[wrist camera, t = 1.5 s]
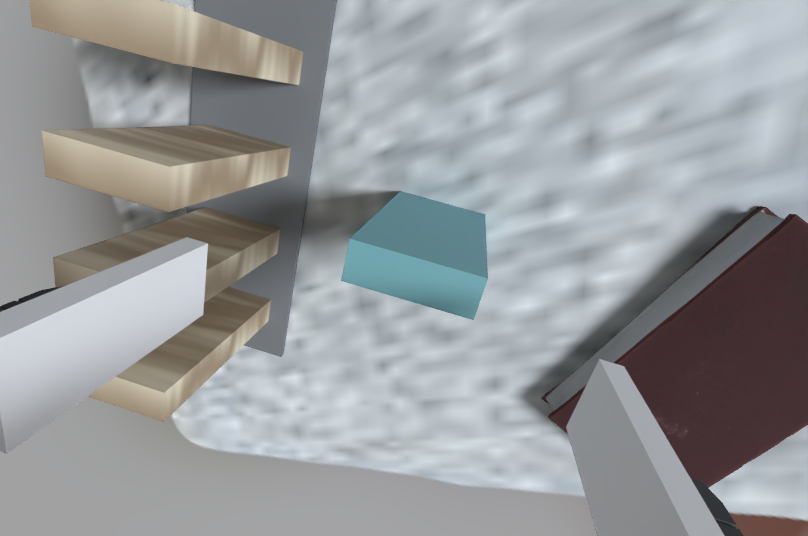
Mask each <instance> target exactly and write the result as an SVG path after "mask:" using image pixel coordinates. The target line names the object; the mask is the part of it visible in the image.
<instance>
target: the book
mask: <svg viewBox="0 0 808 536" xmlns="http://www.w3.org/2000/svg"><path fill="white" fill-rule="evenodd" d="M599 359H601V360H604V361H608V362H611V363H615V364H618V365H621V366H624V367H625V369H626V370H627V372H628V374H629V376H630V377H631V379H632V381H633V382H634V384H635V386H636V387H637V389H638V391H639V392H640V394H641V396H642V397H643V399H644V401H645V403H646V404H647V406H648V408H649V409H650V411H651V413H652V414H653V416H654V418H655V419H656V421H657V423H658V424H659V426H660V428H661V429H662V431H663V433H664V435H665V436H666V438H667V440H668V441H669V443H670V445H671V446H672V448H673V450H674V451H675V453H676V455H677V456H678V458H679V460H680V462H681V463H682V465H683V467H684V468H685V470H686V472H687V473H688V475H689V477H690V478H692V479H695V480H698V481H701V482H703V483H704V484H705V486H706V487H707V488H709V487H710V486H712V485H713V484H715V483H717V482H718V481H720V480H721V479H723V478H724V477H726V476H728V475H729V474H731V473H733V472H734V471H736V470H737V469H739V468H741V467H742V466H743V465H744V464H746V463H748V462H749V461H751V460H753V459H755V458H757V457H758V456H760V455H761V454H763V453H764V452H766V451H768V450H769V449H771V448H772V447H774V446H775V445H777V444H779V443H780V442H781V441H783V440H784V439H785V438H787V437H789V436H791V435H793V434H794V433H796V432H797V431H799V430H800V429H802V428H803V427H805V426H806V425H808V223H806V222H805V221H804V220H803V219H801V218H800V217H799V216H798V215H796V214H789V215H788V216H787V217H786V218H785V219H782V218H779V217H778V216H777V215H775V214H774V213H773V212H771V211H770V210H769V209H768V208H766V207H762V206H760V207H759V208H757V209H756V210H755V211H754V212H752V213H751V214H750V215H749V216H747V217H746V218H745V219H744V220H743V221H741V222H740V223H739V224H738V225H737V226H736V227H734V228H733V229H732V230H731V231H730V232H729V233H728V234H727V235H726V236H725V237H723V238H722V239H721V240H720V241H719V242H718V243H717V244H716V245H714V246H713V247H712V248H711V249H710V250H709V251H708V252H706V253H705V254H704V255H703V256H702V257H701V258H700V259H698V260H697V261H696V262H695V263H694V264H693V266H692V267H690V268H689V269H688V270H687V271H686V272H685V273H684V274H683V275H682V276H681V277H679V278H678V279H677V280H676V281H675V282H674V283H673V284H672V285H671V286H670V287H669V288H668V289H667V290H666V291H664V292H663V293H662V294H661V295H660V296H659V297H658V298H657V299H656V300H655V301H653V302H652V303H651V304H650V305H649V306H648V307H647V308H646V309H645V310H643V311H642V312H641V313H640V314H639V315H638V316H637V317H636V318H635V319H633V320H632V321H631V322H630V323H629V324H628V325H627V326H626V327H624V328H623V329H622V330H621V331H620V332H619V333H618V334H617V335H616V336H615V337H614V338H613V339H611V340H610V341H609V342H608V343H607V344H606V345H605V346H603V347H602V348H601V349H600V350H599V351H598V352H597V353H596V354H594V355H593V356H592V357H591V358H590V359H589V360H588V361H586V362H585V363H584V364H583V365H582V366H581V367H580V368H578V369H577V370H576V371H575V372H574V373H572V374H571V375H570V376H569V377H567V378H566V379H565V380H564V381H562V382H561V383H560V384H559V385H557V386H556V387H555V388H553V389H552V390H551V391H549V392H548V393H546V394H545V395H544V396H543V397H542V399H543V400H544V401H545V402H547V403H549V405H550V407H551V409H552V413H551V414H550V415H549V416H548V417H549V418H550V419H551V420H552V421H553V422H554V423H556V424H557V425H558V426H559V427H560V428H562V429H563V430H564V431H565V432H566V433H568V432H567V429H566V426H567V424H568V422H569V420H570V418H571V416H572V414H573V412H574V410H575V408H576V406H577V404H578V401H579V399H580V397H581V395H582V393H583V391H584V389H585V387H586V385H587V383H588V381H589V379H590V377H591V375H592V373H593V371H594V369H595V367H596V365H597V363H598V361H599Z"/></svg>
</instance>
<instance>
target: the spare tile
mask: <svg viewBox="0 0 808 536" xmlns="http://www.w3.org/2000/svg"><path fill="white" fill-rule="evenodd" d="M487 279H488V273H487V250H486V227H485V214H481V213H477V212H474V211H470V210H467V209H463V208H459V207H456V206H452V205H449V204H445V203H441V202H438V201H434V200H430V199H427V198H423V197H420V196H416V195H412V194H409V193H405V192H401V191H400V192H399V193H398V194H397V195H396V196H395V197H394V198H393V199H392V200H390V201H389V202H388V203H387V204H386V205H385V206H384V207H383V208H382V209H381V210H380V211H379V212H378V213H376V214H375V215H374V216H373V217H372V218H371V219H370V220H369V221H368V222H367V223H366V224H365V225H364V226H363V227H361V228H360V229H359V230H358V231H357V232H356V233H355V234H354V235H353V236H352V237H351V238H350V239H349V244H348V249H347V254H346V259H345V264H344V269H343V274H342V279H341V281H344V282H347V283H351V284H354V285H357V286H361V287H364V288H367V289H371V290H374V291H378V292H381V293H384V294H388V295H391V296H394V297H398V298H401V299H405V300H408V301H411V302H415V303H418V304H421V305H425V306H428V307H432V308H435V309H438V310H442V311H445V312H448V313H452V314H455V315H458V316H462V317H465V318H469V319H472V320H474V317H475V314H476V311H477V308H478V305H479V302H480V299H481V297H482V294H483V291H484V288H485V285H486V282H487Z"/></svg>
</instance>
